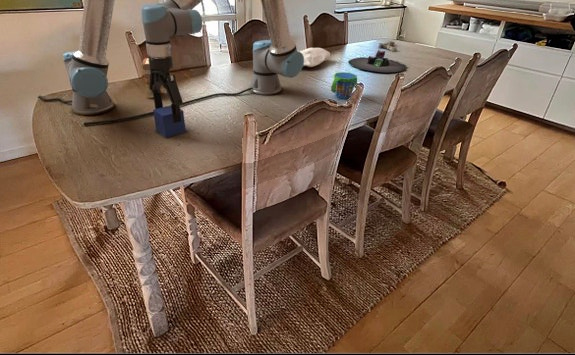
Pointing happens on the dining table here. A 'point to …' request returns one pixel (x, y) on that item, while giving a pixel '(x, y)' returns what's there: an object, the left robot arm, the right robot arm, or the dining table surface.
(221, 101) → the dining table surface
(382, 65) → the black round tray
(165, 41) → the right robot arm
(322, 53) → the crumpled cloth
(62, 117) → the dining table surface
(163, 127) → the blue cube
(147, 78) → the candy box
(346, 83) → the snack cup
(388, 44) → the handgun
